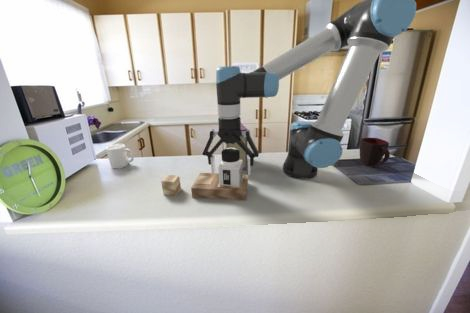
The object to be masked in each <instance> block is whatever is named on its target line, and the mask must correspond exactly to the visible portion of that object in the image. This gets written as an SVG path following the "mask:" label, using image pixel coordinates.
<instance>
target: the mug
mask: <svg viewBox="0 0 470 313" xmlns="http://www.w3.org/2000/svg"><path fill="white" fill-rule="evenodd" d="M389 145H390V143H389V142H388V141H387V140H384V139H381V138H378V137H362V138H361V139H360V141H359V160H360V164H362V165H363V166H365V167H371V168H372V167H373V168H374V167H377V166H378V165H381V164H384V163H386V162H387V161H388V160H389V159H390V158H391V157H390V156H391V153H390V150H389V149H388V148H389Z"/></svg>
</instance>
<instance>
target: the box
mask: <svg viewBox="0 0 470 313" xmlns="http://www.w3.org/2000/svg"><path fill="white" fill-rule="evenodd" d="M247 130H248V128H247V127H246V126H245V125H244V124H243V123H242V122H241V131H247ZM240 138H241V139H242V141H243V142H244V143H245V145H246V146H247V147H248V141H247V139H246V137H244V135H241V137H240ZM221 145H222V150H224V149H226V148H236V149H238V150H239V151H240V160H243V172H248V155H247V154H246V152H245V151H244V150H243V149H242V148H241V147H240V146H239V145H238V144H237V143H234V144H231V143H228V144H225V143H224V142H223V143H222V144H221Z"/></svg>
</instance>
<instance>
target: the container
mask: <svg viewBox="0 0 470 313" xmlns="http://www.w3.org/2000/svg"><path fill="white" fill-rule="evenodd" d="M217 168H218V174H219V185H222V186H234V187H240V184H241V181H242V177H243V175H244V174H243V172H244V171H243V160H240V151H239V150H238V149H236V148H226V149H224V150H223V149H222V150H221V162H220V164H219V165H218V167H217Z"/></svg>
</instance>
